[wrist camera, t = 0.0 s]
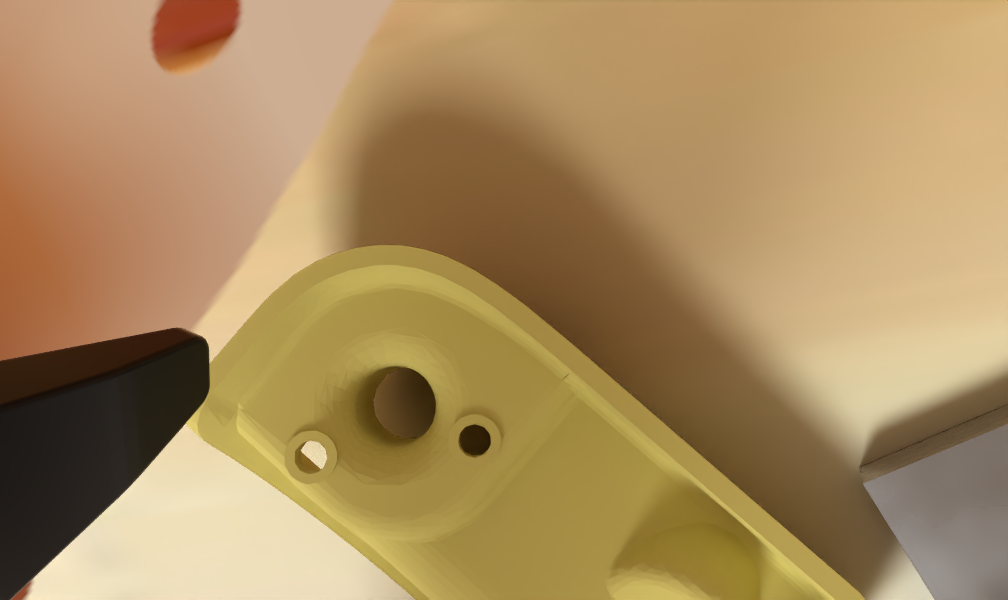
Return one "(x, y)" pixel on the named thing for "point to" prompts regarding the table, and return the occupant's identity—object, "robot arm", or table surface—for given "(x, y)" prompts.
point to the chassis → (951, 507)
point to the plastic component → (504, 466)
